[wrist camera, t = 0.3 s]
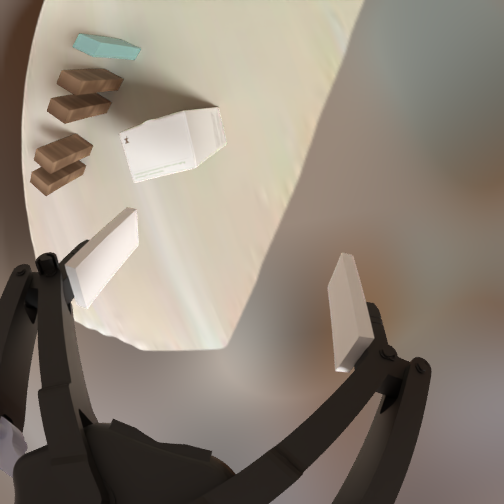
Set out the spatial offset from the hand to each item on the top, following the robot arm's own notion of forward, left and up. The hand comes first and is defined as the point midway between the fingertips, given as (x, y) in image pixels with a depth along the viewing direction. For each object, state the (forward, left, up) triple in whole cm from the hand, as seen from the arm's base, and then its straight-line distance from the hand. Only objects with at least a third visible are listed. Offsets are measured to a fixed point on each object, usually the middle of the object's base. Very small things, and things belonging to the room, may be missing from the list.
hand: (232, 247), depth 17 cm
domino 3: (+1, -35, -27) cm, 44 cm away
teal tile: (-16, -26, -27) cm, 41 cm away
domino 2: (-7, -31, -27) cm, 41 cm away
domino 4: (+6, -37, -27) cm, 46 cm away
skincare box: (-2, -11, -27) cm, 30 cm away
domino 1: (-11, -28, -27) cm, 41 cm away
